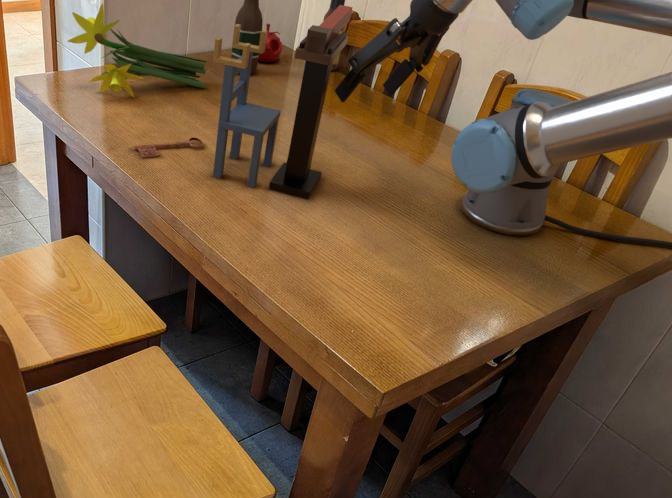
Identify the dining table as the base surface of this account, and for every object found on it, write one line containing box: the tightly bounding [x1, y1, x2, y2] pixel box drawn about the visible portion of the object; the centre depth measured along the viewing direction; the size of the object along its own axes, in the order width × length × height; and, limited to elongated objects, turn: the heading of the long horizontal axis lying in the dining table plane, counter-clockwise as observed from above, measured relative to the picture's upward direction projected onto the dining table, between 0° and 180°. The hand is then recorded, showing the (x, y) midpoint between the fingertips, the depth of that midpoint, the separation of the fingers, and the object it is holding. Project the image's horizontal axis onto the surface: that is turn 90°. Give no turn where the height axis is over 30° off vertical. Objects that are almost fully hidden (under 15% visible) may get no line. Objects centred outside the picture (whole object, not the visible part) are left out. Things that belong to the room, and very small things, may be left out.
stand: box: [268, 30, 349, 200], centre depth 119 cm, size 14×8×27 cm, turn 159°
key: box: [133, 137, 204, 159], centre depth 134 cm, size 6×1×15 cm
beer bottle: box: [230, 0, 264, 76], centre depth 168 cm, size 8×8×24 cm
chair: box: [212, 24, 282, 188], centre depth 122 cm, size 12×11×25 cm
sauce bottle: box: [322, 0, 346, 72], centre depth 178 cm, size 7×6×20 cm
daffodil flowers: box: [67, 3, 208, 98], centre depth 153 cm, size 17×15×35 cm
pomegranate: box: [258, 23, 283, 63], centre depth 182 cm, size 10×10×9 cm
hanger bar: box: [304, 4, 353, 54], centre depth 113 cm, size 24×3×3 cm, turn 159°
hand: (363, 93), depth 122 cm, fingers open, 13 cm apart
